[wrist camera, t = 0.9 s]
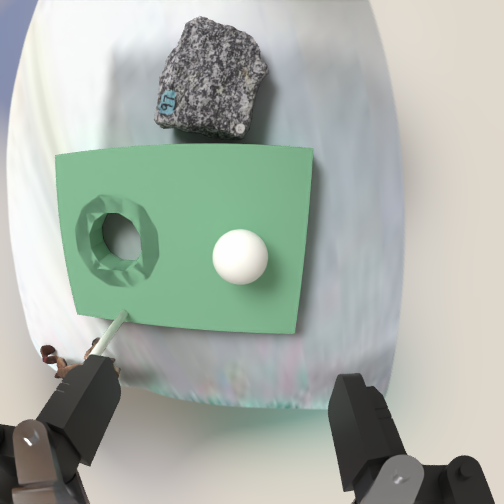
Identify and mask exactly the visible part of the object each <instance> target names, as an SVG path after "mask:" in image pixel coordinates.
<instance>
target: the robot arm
mask: <svg viewBox="0 0 504 504" xmlns="http://www.w3.org/2000/svg"><path fill="white" fill-rule="evenodd" d="M56 389H57V390H56V391H55V392H54V393H53V394H52V396H51V398H50V399H49V400H48V402H47V403H46V405H45V407H44V408H43V409H42V411H41V413H40V414H39V416H38V417H37V418H36V420H33V419H29V420H25V421H22V422H21V423H19V424H18V425H17V426H16V427H15V426H9V425H2V424H0V504H90V503H89V500H88V497H87V495H86V492H85V490H84V487H83V484H82V481H81V478H80V475H79V472H78V470H77V467H78V464H79V463H82V464H84V465H87V466H91V463H92V461H93V458H94V456H95V454H96V451H97V449H98V447H99V445H100V442H101V440H102V438H103V436H104V433H105V431H106V429H107V427H108V424H109V422H110V420H111V418H112V416H113V413H114V411H115V409H116V407H117V405H118V403H119V400H120V396H121V388H120V384H119V381H118V378H117V375H116V372H115V369H114V365H113V362H112V360H111V358H109V357H104V356H99V355H95V354H90V355H89V356H88V357H87V359H86V360H85V361H84V363H83V364H82V365H79V364H78V365H77V366H75V367H74V368H73V369H71V370H70V371H68V373H67V374H66V376H65V377H64V378H63V380H62V383H60V384H59V386H58V387H57V388H56ZM328 417H329V422H330V427H331V431H332V436H333V441H334V446H335V451H336V455H337V460H338V465H339V470H340V476H341V481H342V486H343V491H344V492H346V491H353V490H354V493H355V499H354V501H353V502H352V504H495V503H494V500H493V497H492V494H491V491H490V489H489V486H488V483H487V481H486V479H485V476H484V473H483V471H482V468H481V466H480V464H479V463H478V461H477V460H475V459H474V458H472V457H470V456H465V455H464V456H458V457H456V458H455V459H453V460H452V461H451V462H450V463H449V464H448V465H422V464H421V463H420V462H419V461H418V460H417V459H416V458H414V457H412V456H409V455H407V453H406V451H405V449H404V446H403V444H402V441H401V438H400V436H399V433H398V431H397V428H396V426H395V424H394V421H393V419H392V418H391V413H390V411H389V409H388V406H387V404H386V402H385V399H384V397H383V395H382V394H381V393H380V392H379V391H378V390H377V389H376V388H375V387H374V386H370V387H366V385H365V382H364V380H363V377H362V375H361V374H360V373H354V374H339V375H338V376H337V379H336V382H335V386H334V389H333V392H332V395H331V398H330V401H329V406H328Z"/></svg>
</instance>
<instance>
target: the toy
mask: <svg viewBox="0 0 504 504" xmlns="http://www.w3.org/2000/svg"><path fill="white" fill-rule="evenodd" d="M100 339H101V338H96V339H95V340H93V342H92V347H91V348H90V349H89V350H88V351H87V352H86V354H85V356H84V359H85V360H86V358H87V357H88V356H89V354H90V353H91V351H92V350H93V348H94V347H95V346H96V344H97V343H98V341H99V340H100ZM54 351H55V350H54V348H53V347H52V346H50V345H46V346H42V347H41V350H40V352H41V354H42V357H43V362H45V363H47V364H54V363H57V367H58V371H57V373H56V375H55V378H62V379H63V378H64V377H65V376H66V374H67V373H68V371H70V370H71V369H73V368H74V367H75V366H77V365H78V364H73V365H68V366H67V363H66V361H65V360H64V359H63V358H61V357H58V356H49V357H47V356H48V355H50V354H51V353H53V352H54ZM111 360H112V362H114V361H115V359H113V358H111ZM82 364H83V363H82ZM82 364H79V365H82ZM114 369H115V372H116V375H117V378H118V376H119V372H120V368H118V367H115V366H114Z"/></svg>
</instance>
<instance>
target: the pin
mask: <svg viewBox="0 0 504 504" xmlns="http://www.w3.org/2000/svg"><path fill="white" fill-rule="evenodd" d="M127 316H128V312H127V311H126V310H125V309H122V310H121V311H120V313H119V314H118V315H117V317H116V318H115V319H114V321H113V322H112V323H111V325H110V326H109V328H108V329H107V330H106V332H105V333H104V334H103V336H102V337H101V339H100V340H99V341H98V343H97V344H96V346H95V347H94V348H93V350H92V351H91V353H90V354H95V355H99V356H101V354H102V353H103V351H104V350H105V348H106V347H107V345H108V344H109V342H110V341H111V339H112V338H113V336H114V335H115V333H116V332H117V331H118V329H119V328H120V326H121V325H122V323H123V322H124V320H125V319H126V317H127ZM90 354H89V355H90ZM86 359H87V358H86Z"/></svg>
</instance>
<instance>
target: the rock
mask: <svg viewBox="0 0 504 504" xmlns="http://www.w3.org/2000/svg"><path fill="white" fill-rule="evenodd" d="M267 74H268V67H267V65H266V64H264V63H263V62H262V61H261V59H260V49H259V46H258V45H257V43H256V42H255V41H254V39H253V38H252V36H250V35H248V34H246V33H245V32H242V31H239V30H237V29H236V28H235V27H233V26H230V25H222V24H219V23H216V22H214V21H213V20H209V19H208V18H205V17H201V16H199V17H197V18H194V19H193V20H191V21H189V22H187V23H186V24H185V28H184V30H183V33H182V35H181V38H180V41H179V42H178V46H177V47H176V48H175V49H173V51H172V52H171V54H170V55H169V56H168V57H167V59H166V63H165V68H164V71H163V72H162V74H161V75H160V79H159V93H158V104H157V108H156V113H155V118H154V121H155V122H156V124H157V125H160V127H161V128H163V129H169V128H179V129H181V130H182V131H186V132H191V133H200V134H202V133H203V135H205V136H207V137H209V138H216V139H228V140H235V139H242V138H244V135H245V134H246V132H247V131H248V130H249V129H250V123H251V118H252V111H253V106H254V101H255V96H256V93H257V91H258V88H259V85H260V83H261V81H262V79H263V78H264V77H265V76H266V75H267Z"/></svg>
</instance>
